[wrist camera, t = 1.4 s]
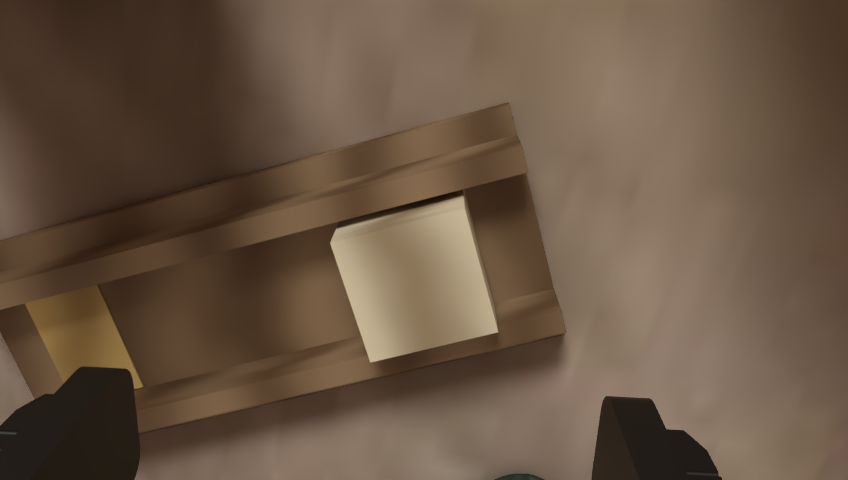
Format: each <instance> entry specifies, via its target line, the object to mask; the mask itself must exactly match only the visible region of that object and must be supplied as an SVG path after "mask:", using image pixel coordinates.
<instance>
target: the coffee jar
mask: <svg viewBox="0 0 848 480" xmlns="http://www.w3.org/2000/svg"><path fill="white" fill-rule="evenodd" d="M495 480H543V479H541V478H539V477H537V476H534V475H530V474H510V475H506V476H502V477H500V478H497V479H495Z"/></svg>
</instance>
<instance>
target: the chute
mask: <svg viewBox="0 0 848 480" xmlns="http://www.w3.org/2000/svg"><path fill="white" fill-rule="evenodd" d="M527 172H528V169H527V165H526V161H525V156H524V152H523V148H522V145H521V143H520V141H519V138H518V136H517V134H516V130H515V125H514V121H513V117H512V113H511V109H510V105H509V103H505V104H501V105H498V106H494V107H490V108H486V109H483V110H479V111H475V112H472V113H468V114H464V115H461V116H457V117H453V118H450V119H446V120H442V121H439V122H435V123H431V124H428V125H424V126H420V127H417V128H413V129H409V130H406V131H402V132H398V133H394V134H391V135H387V136H383V137H380V138H376V139H372V140H369V141H365V142H361V143H358V144H354V145H350V146H347V147H343V148H339V149H336V150H332V151H328V152H325V153H321V154H317V155H314V156H310V157H306V158H303V159H299V160H295V161H291V162H288V163H284V164H280V165H277V166H273V167H269V168H266V169H262V170H258V171H255V172H251V173H247V174H244V175H240V176H236V177H233V178H229V179H225V180H222V181H218V182H214V183H211V184H207V185H203V186H199V187H196V188H192V189H188V190H185V191H181V192H177V193H174V194H170V195H166V196H163V197H159V198H155V199H152V200H148V201H144V202H141V203H137V204H133V205H130V206H126V207H122V208H119V209H115V210H111V211H107V212H104V213H100V214H96V215H93V216H89V217H85V218H82V219H78V220H74V221H71V222H67V223H63V224H60V225H56V226H52V227H49V228H45V229H41V230H38V231H34V232H30V233H27V234H23V235H19V236H15V237H12V238H8V239H4V240H1V241H0V332H1V334H2V336H3V338H4V340H5V342H6V344H7V345H8V347H9V349H10V351H11V353H12V355H13V357H14V359H15V361H16V363H17V365H18V367H19V369H20V371H21V373H22V375H23V377H24V379H25V381H26V383H27V385H28V387H29V389H30V391H31V393H32V395H33V397H34V399H37V398H38V397H40V396H42V395H44V394H54V393H55V392H56V391H57V390H58V389H59V388H60V387H61V386H62V385H63V384H64V383H65V382H66V381H67V379H68V378H69V377H70V376H71V375H72V374H73V373H74V372H75V371H76V370H77V369H78V368H80V367H83V366H88V367H106V368H124V369H128V370H129V371H130V373H131V375H132V378H133V384H134V394H135V403H136V413H137V423H138V433H139V434H143V433H147V432H151V431H155V430H160V429H164V428H168V427H173V426H177V425H181V424H185V423H190V422H194V421H198V420H202V419H207V418H211V417H215V416H219V415H224V414H228V413H232V412H236V411H241V410H245V409H249V408H254V407H258V406H262V405H266V404H271V403H275V402H279V401H283V400H288V399H292V398H296V397H300V396H305V395H309V394H313V393H317V392H322V391H326V390H330V389H335V388H339V387H343V386H347V385H352V384H356V383H360V382H364V381H369V380H373V379H377V378H381V377H386V376H390V375H394V374H398V373H403V372H407V371H411V370H416V369H420V368H424V367H428V366H433V365H437V364H441V363H445V362H450V361H454V360H458V359H462V358H467V357H471V356H475V355H479V354H484V353H488V352H492V351H497V350H501V349H505V348H509V347H514V346H518V345H522V344H526V343H531V342H535V341H539V340H543V339H548V338H552V337H556V336H561V335H565V334H564V333H566V328H565V324H564V320H563V316H562V312H561V308H560V305H559V303H558V300H557V297H556V294H555V291H554V288H553V284H552V280H551V276H550V272H549V267H548V263H547V259H546V255H545V251H544V247H543V242H542V238H541V234H540V230H539V226H538V221H537V217H536V213H535V209H534V205H533V201H532V196H531V192H530V188H529V184H528V180H527V176H526V173H527ZM462 189H464V191H465V195H466V198H467V202H468V206H469V209H470V213H471V217H472V221H473V224H474V228H475V232H476V236H477V239H478V243H479V247H480V250H481V254H482V258H483V262H484V265H485V269H486V273H487V276H488V280H489V284H490V288H491V291H492V295H493V300H494V307H495V313H496V320H497V326H498V332H497V333H493V334H489V335H485V336H480V337H476V338H472V339H468V340H464V341H459V342H455V343H451V344H447V345H443V346H438V347H434V348H430V349H426V350H421V351H417V352H413V353H409V354H405V355H400V356H396V357H392V358H388V359H384V360H379V361H375V362H371V363H370V360H369V357H368V354H367V351H366V348H365V345H364V342H363V339H362V336H361V333H360V330H359V327H358V324H357V322H356V319H355V316H354V313H353V310H352V307H351V304H350V301H349V298H348V295H347V292H346V289H345V286H344V283H343V280H342V277H341V274H340V271H339V268H338V265H337V262H336V259H335V256H334V253H333V250H332V247H331V244H330V242H331V240H332V237H333V235H334V232H335V230H336V228H337V225H338V223H339V221H343V220H347V219H351V218H355V217H358V216H362V215H366V214H370V213H374V212H378V211H381V210H385V209H389V208H393V207H397V206H401V205H405V204H408V203H412V202H416V201H420V200H424V199H428V198H431V197H435V196H439V195H443V194H447V193H451V192H454V191H458V190H462Z"/></svg>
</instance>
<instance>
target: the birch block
mask: <svg viewBox="0 0 848 480" xmlns="http://www.w3.org/2000/svg"><path fill="white" fill-rule="evenodd" d="M330 244H331V247H332V250H333V253H334V256H335V259H336V262H337V265H338V268H339V271H340V274H341V277H342V280H343V283H344V286H345V289H346V292H347V295H348V298H349V301H350V304H351V307H352V310H353V313H354V316H355V319H356V322H357V324H358V327H359V330H360V333H361V336H362V339H363V342H364V345H365V348H366V351H367V354H368V357H369V360H370V363H371V362H375V361H379V360H384V359H388V358H392V357H396V356H400V355H405V354H409V353H413V352H417V351H421V350H426V349H430V348H434V347H438V346H443V345H447V344H451V343H455V342H459V341H464V340H468V339H472V338H476V337H480V336H485V335H489V334H493V333H497V332H498V326H497V320H496V313H495V307H494V300H493V295H492V291H491V288H490V284H489V280H488V276H487V273H486V269H485V265H484V262H483V258H482V254H481V250H480V247H479V243H478V239H477V236H476V232H475V228H474V224H473V221H472V217H471V213H470V209H469V206H468V202H467V198H466V195H465V191H464V189H462V190H458V191H454V192H451V193H447V194H443V195H439V196H435V197H431V198H428V199H424V200H420V201H416V202H412V203H408V204H405V205H401V206H397V207H393V208H389V209H385V210H381V211H378V212H374V213H370V214H366V215H362V216H358V217H355V218H351V219H347V220H343V221H339V223H338V225H337V228H336V230H335V232H334V235H333V237H332V240H331V242H330Z"/></svg>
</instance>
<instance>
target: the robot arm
mask: <svg viewBox="0 0 848 480" xmlns="http://www.w3.org/2000/svg"><path fill="white" fill-rule="evenodd" d="M139 458H140V442H139V433H138V423H137V413H136V403H135V394H134V384H133V378H132V375H131V373H130V371H129V370H128V369H124V368H106V367H88V366H83V367H80V368H78V369H77V370H76V371H75V372H74V373H73V374H72V375H71V376H70V377H69V378H68V379H67V381H66V382H65V383H64V384H63V385H62V386H61V387H60V388H59V389H58V390H57V391H56V392H55V393H54V394H44V395H42V396H40V397H38V398H37V399H35V400H33V401H31V402H30V403H28V404H26V405H24V406H22V407H21V408H19V409H17V410H16V411H15V412H14V413H13V414H12V415H11V416H10V417H9V418H8V419H7V420H6V421H5V422H4V423H3V424H2V425H1V426H0V480H134V479H135V476H136V473H137V469H138V464H139ZM592 480H722V478H721V477H719V476H718V471H717V469H716V467H715V465H714V463H713V461H712V459H711V457H710V456H709V454H708V452H707V450H706V449H705V448H703V447H702V446H701V445H700V444H699V443H698V442H697V441H695V440H694V439H693V438H692V437H691V436H690V435H688V434H687V433H686V432H685V431H684V430H666V428H665V426H664V424H663V421H662V419H661V417H660V415H659V413H658V411H657V409H656V406H655V404H654V402H653V401H652V400H651V399H649V398H631V397H613V396H606V397H605V398H604V400H603V403H602V407H601V414H600V421H599V428H598V435H597V442H596V449H595V456H594V463H593V470H592Z"/></svg>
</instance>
